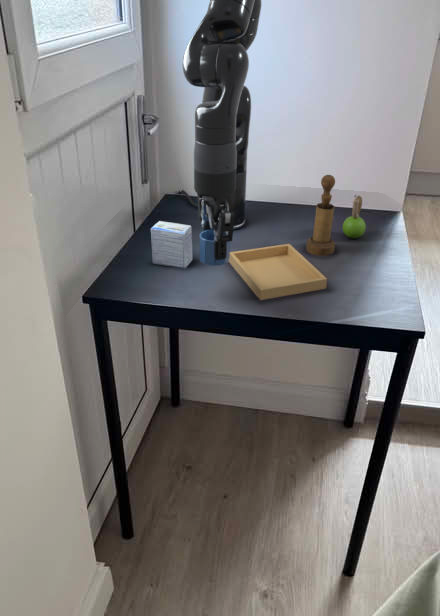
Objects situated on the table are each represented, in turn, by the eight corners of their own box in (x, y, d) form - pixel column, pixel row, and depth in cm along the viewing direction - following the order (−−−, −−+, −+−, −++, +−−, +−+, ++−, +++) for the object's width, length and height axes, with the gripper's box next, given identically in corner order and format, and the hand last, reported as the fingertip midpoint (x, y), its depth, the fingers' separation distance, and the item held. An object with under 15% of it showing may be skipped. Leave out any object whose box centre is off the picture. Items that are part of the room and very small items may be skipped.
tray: (228, 263, 125) (229, 252, 123) (288, 254, 129) (289, 243, 128) (260, 302, 111) (260, 290, 109) (325, 290, 115) (327, 278, 113)
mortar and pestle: (333, 258, 127) (343, 181, 118) (304, 255, 128) (312, 179, 119) (334, 246, 133) (344, 171, 123) (306, 243, 134) (314, 169, 124)
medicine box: (192, 261, 125) (192, 225, 121) (185, 270, 122) (184, 233, 117) (160, 255, 127) (158, 220, 123) (152, 264, 124) (150, 227, 119)
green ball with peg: (338, 241, 135) (344, 193, 129) (343, 231, 140) (350, 185, 134) (361, 245, 134) (368, 196, 127) (365, 235, 139) (373, 188, 132)
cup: (195, 255, 110) (195, 231, 108) (223, 250, 112) (224, 227, 109) (204, 267, 106) (204, 243, 103) (234, 263, 107) (234, 238, 105)
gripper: (250, 175, 95) (246, 265, 103) (221, 152, 106) (220, 235, 115) (208, 180, 92) (208, 271, 101) (183, 156, 104) (184, 239, 113)
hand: (214, 251), depth 108 cm, fingers closed on cup, 5 cm apart
